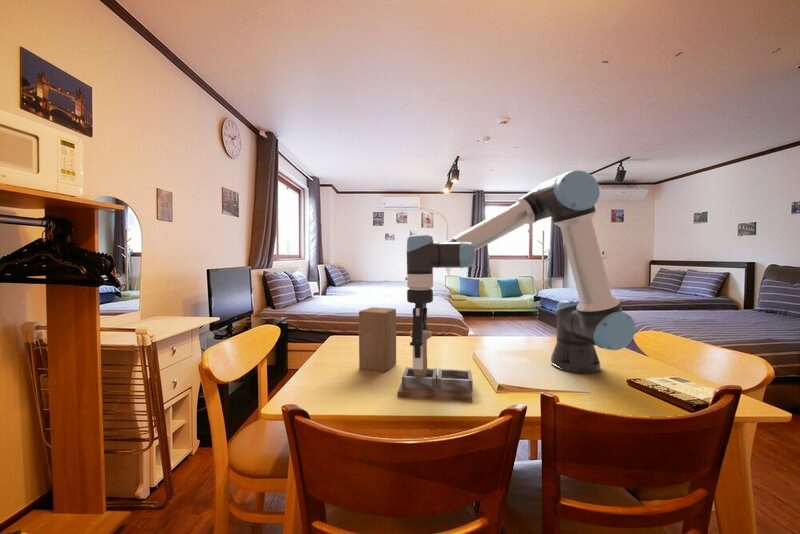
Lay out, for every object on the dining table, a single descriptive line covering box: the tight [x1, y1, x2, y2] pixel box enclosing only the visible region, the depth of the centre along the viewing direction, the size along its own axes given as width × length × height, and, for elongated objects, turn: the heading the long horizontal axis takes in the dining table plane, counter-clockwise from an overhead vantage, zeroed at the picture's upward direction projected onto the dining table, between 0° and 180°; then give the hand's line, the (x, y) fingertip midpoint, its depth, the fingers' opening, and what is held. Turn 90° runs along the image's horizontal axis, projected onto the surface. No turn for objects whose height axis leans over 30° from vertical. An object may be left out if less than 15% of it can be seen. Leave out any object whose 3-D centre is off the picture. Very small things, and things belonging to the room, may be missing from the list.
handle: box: [409, 329, 433, 377], centre depth 95 cm, size 5×6×15 cm
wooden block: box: [358, 307, 397, 373], centre depth 115 cm, size 10×10×20 cm
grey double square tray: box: [397, 366, 474, 403], centre depth 95 cm, size 20×14×4 cm
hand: (420, 361), depth 96 cm, fingers open, 13 cm apart
